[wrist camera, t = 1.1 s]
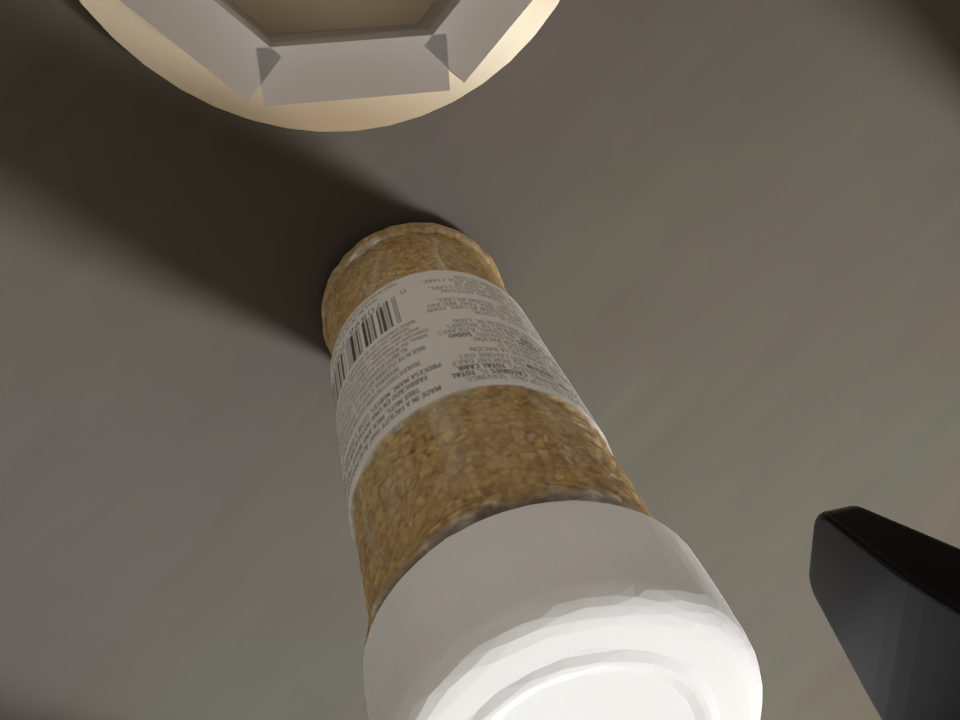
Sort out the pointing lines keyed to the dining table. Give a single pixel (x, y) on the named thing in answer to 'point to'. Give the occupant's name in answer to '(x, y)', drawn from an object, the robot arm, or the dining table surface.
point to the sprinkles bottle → (503, 514)
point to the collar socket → (324, 53)
